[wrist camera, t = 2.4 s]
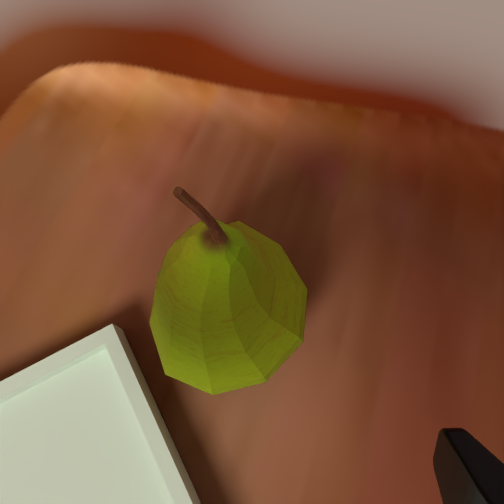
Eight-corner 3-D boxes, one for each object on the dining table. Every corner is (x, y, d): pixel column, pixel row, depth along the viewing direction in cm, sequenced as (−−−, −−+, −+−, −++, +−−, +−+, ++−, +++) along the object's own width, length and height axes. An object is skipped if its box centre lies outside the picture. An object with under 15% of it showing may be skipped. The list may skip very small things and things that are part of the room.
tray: (225, 557, 18) (222, 571, 16) (-24, 710, 17) (-50, 739, 15) (122, 328, 21) (112, 323, 19) (-99, 443, 19) (-127, 447, 18)
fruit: (269, 419, 19) (284, 444, 8) (138, 359, 20) (-17, 305, 9) (323, 282, 21) (397, 144, 10) (200, 233, 22) (137, 52, 11)
